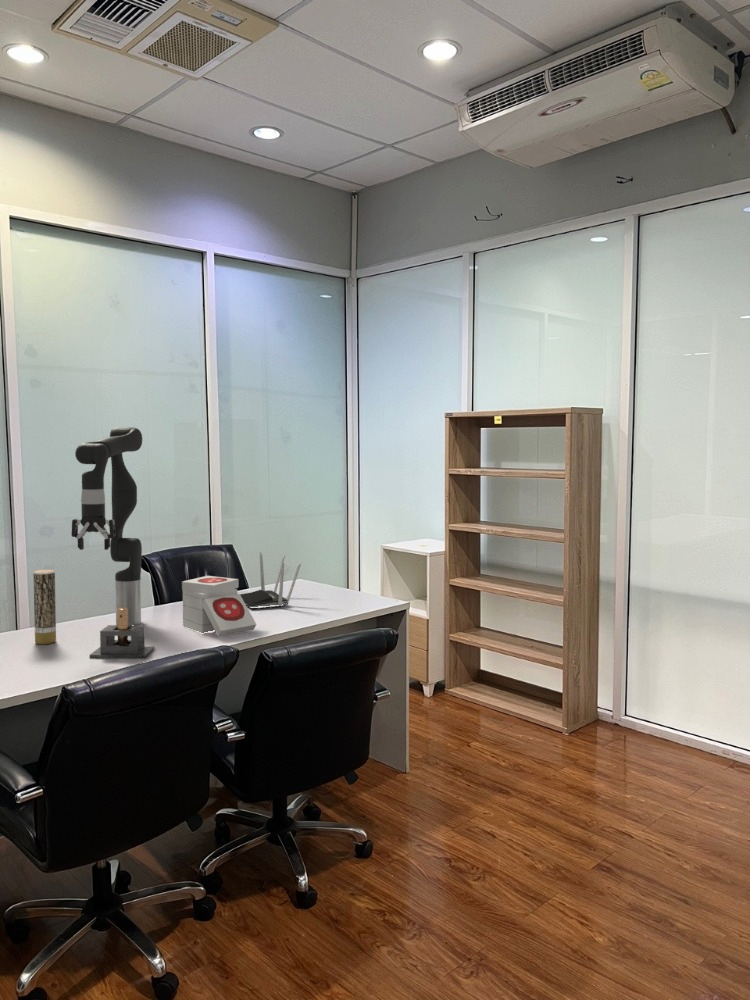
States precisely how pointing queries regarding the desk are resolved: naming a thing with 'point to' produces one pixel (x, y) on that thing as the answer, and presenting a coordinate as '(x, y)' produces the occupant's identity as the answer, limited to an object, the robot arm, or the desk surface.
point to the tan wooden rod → (122, 625)
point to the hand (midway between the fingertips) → (94, 549)
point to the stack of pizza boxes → (215, 606)
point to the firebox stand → (113, 650)
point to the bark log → (44, 606)
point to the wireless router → (269, 596)
